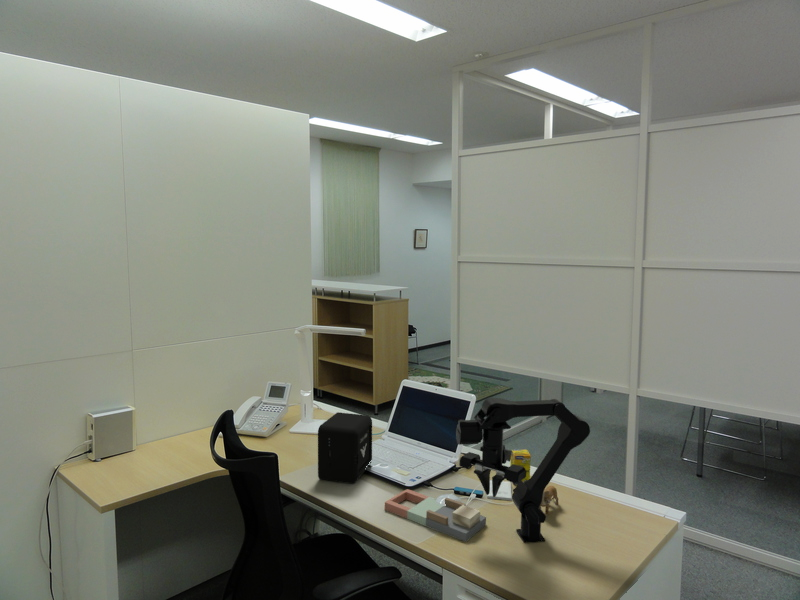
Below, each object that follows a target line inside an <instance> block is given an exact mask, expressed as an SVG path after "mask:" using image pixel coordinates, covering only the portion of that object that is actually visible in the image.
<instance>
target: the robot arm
mask: <svg viewBox="0 0 800 600" xmlns="http://www.w3.org/2000/svg"><path fill="white" fill-rule="evenodd" d="M546 416H547V417H548V416H549V417H550V416H551V417H552V416H555V418H556V419H557V420H559V422H560V425H559V427H558V430H557V435H556V436H557V437H556V439H555V442H554V443H553V444H552V446H551V447H550V449H548V452H547V453H546V455H545V456H544V457H543V459H542V461H541V462H540V463H539V465H538V467H537V468H536V469H535V471H534V472H533V474H532V475H531V476H530V479H529V480H528V481H526V482H523V481H522V480H523V479H524V478H525V477H526V470H525V468H524V467H522V466H518V465H514V464H513V465H511V466H508V465H505V464H506V463H507V462H510V463H511V454H512V451H511V449H506V445H504V430H510V429H511V428H512V427H511V425H510V424H509V423H508V422H507V421H510V420H513V419H515V418H523V417H525V418H527V417H546ZM457 422H458V423H457V425H456V428H455V439H456V443H457V445H478V444H479V443H481V442H482V446H480V447H479V451H480V452H481V455H482V456H481V455H480V454H478V453H475V452H474V453H473V452H470V451H468V452H467V453H465V454H463V455H462V456H460V458H459V463H458V465H459V467H461V468H464V469H469V468H470V467H472V465H473V466H474V470H473V474H475V475H476V476H477V478H478V479H479V482H480V483H481V485H482V488H483V490H484V492H485V494H486V496H487V495H488V494H489V492H490V480H492V493H493V497H495V496H496V495H497V492H498V490H499V487H500V485H501V483H502V481H504V480H506V481H507V482H511V483H513V482H514V483H518V484H516V486H515V487H514V488H513V489H512V492H513V493H512V502H513V504H514V506H515V507H516V508H517V510H518V511H519V513H520V528H516V530H515V531H516V533H517V534H518V536H519V537H520V539H521V540H522V542H523V543H534V542H545V541H546V537H544V536H543V534H542V533H541V532H542V524H544V523H545V521H546V519H547V515H546V514H545V511H543V510H542V508H541V509H540V505H541V503H542V498H543V492H544V489H546V488H547V487H548V486H549V484H550V482H551V481H552V480H553V479H552V478H554V476H555V474H556V473H557V471H558V470H559V468H561V466H562V464H563V463H564V461H565V460H566V458H567V457H568V455H569V454H570V453H571V452H572V450H573V449H575V448H577V447H579V446H580V445H582V444H583V442H585V440H587V438H589V436H590V434H591V428H590V425H589V424H588V422H586V421H585V420H584V419H583V418H581V417H580V416H579V415H576V414H574V413H573V412H571V410H569V409H568V408H567V407H566V406H565V404H564V403H563V402H561V401H560V400H559V399H557V398H552V399H543V400H541V399H540V400H539V399H538V400H537V399H536V400H516V401H515V400H514V401H513V400H508V399H504V398H500V397H499V398H498V397H494V396H492V397H491V396H490V397H487V398H485V400H484V401H483V402H482V404H481V408H480V409H478V412H477V413H476V414H475V416H474V417H473V419H458V421H457ZM503 464H504V465H503ZM492 471H493V472H495V474H494V475H493V476H492V477H490V476H491V473H492Z"/></svg>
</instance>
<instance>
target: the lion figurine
mask: <svg viewBox="0 0 800 600" xmlns="http://www.w3.org/2000/svg"><path fill="white" fill-rule="evenodd" d="M554 500H555V502H554V505H556V506H558V505H559V497H558V492H557V488H556V487H555V486H554V485H547V486H546V488H545V489H544V492H543V498H542V503H541V505H540V509H541V510H542V507H543V508H544V507H545V511H544V514H545V515H546V516H549V515H550V509H549V508H550V504H551V502H552V501H554Z"/></svg>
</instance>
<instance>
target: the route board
mask: <svg viewBox="0 0 800 600" xmlns="http://www.w3.org/2000/svg"><path fill="white" fill-rule="evenodd" d="M403 500H404V501H405V500H408V501H410V502H412V501H413V502H412V503H415V505H414V506H413V507H409V506H405V505H403V504H400V503H402V502H403ZM436 500H438V499H437V498H433V497H431V496H427V495H425V494H423V493H419V492H417V491H414V490H411V489H408V488H407V489H405V490H402V491H401V492H399V493H398V494H396V495H394V496H392V497H390V499H388V500H386V501H384V510H385V511H387V510H388V511H387V512H389V511H390V513H392V512H393V513H392V514H394V513H395V515H397V514H398V515H397V516H399V515H400V517H402V518H404V517H405V518H404V519H408V520H409V521H412V522H414V523H418V524H420V525H423V526H425V527H428V528H430V529H433V530H434V531H438V532H440V533H441V534H445V535H448V536H450V537H452V538H455V539H458V540H460V541H463V542H464V543H466V542H468V541H469V540H470V539H471V538H473V536H475V535H476V534H477V533H478V532H479V531H481V530H482V529H483V528H484V527H485V526H486V525H487V516H484V515H481V514H480V521H479V522H477V523H476V524H475V525H474V526H473V527H471V528H470V529H469V528H467V527H464V526H461V525H459V524H456V523H453V522H452V512H454V511H455V510H456V509H458V508H459V507H461V506H462V505H465V506H467V504H466V503H463V502H460V501H458V500H455V499H452V498H449V497H446V498H444V502H445V504H446V506H441V505H439V504H437V503H436ZM398 503H399V504H398Z"/></svg>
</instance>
